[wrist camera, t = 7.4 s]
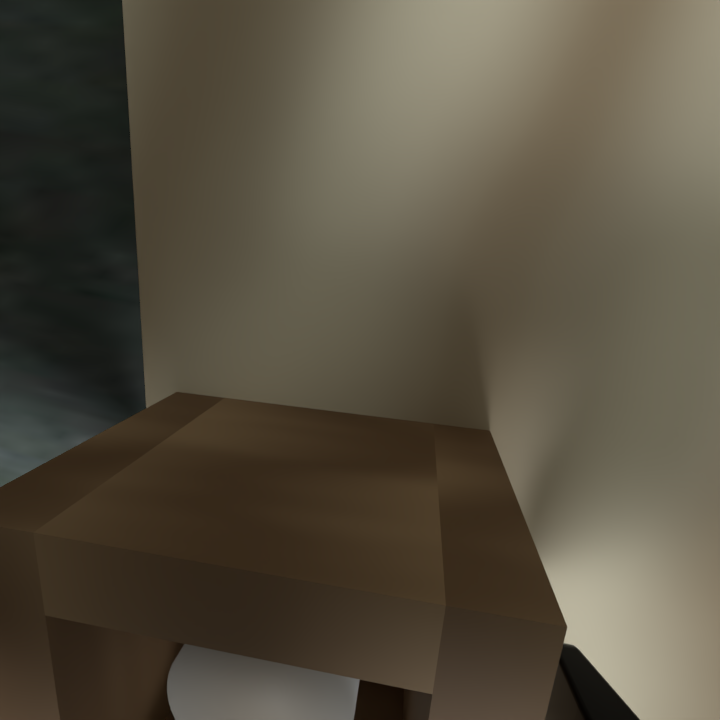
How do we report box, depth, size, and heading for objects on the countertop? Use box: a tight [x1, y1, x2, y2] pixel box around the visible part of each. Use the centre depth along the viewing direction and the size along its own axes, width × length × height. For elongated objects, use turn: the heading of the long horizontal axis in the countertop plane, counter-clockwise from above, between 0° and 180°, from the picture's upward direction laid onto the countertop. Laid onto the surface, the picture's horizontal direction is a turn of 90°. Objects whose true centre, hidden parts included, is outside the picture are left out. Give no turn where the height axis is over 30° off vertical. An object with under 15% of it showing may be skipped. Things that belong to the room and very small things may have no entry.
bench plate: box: [122, 0, 720, 720], centre depth 7 cm, size 15×19×5 cm
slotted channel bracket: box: [0, 392, 567, 720], centre depth 7 cm, size 7×7×4 cm
